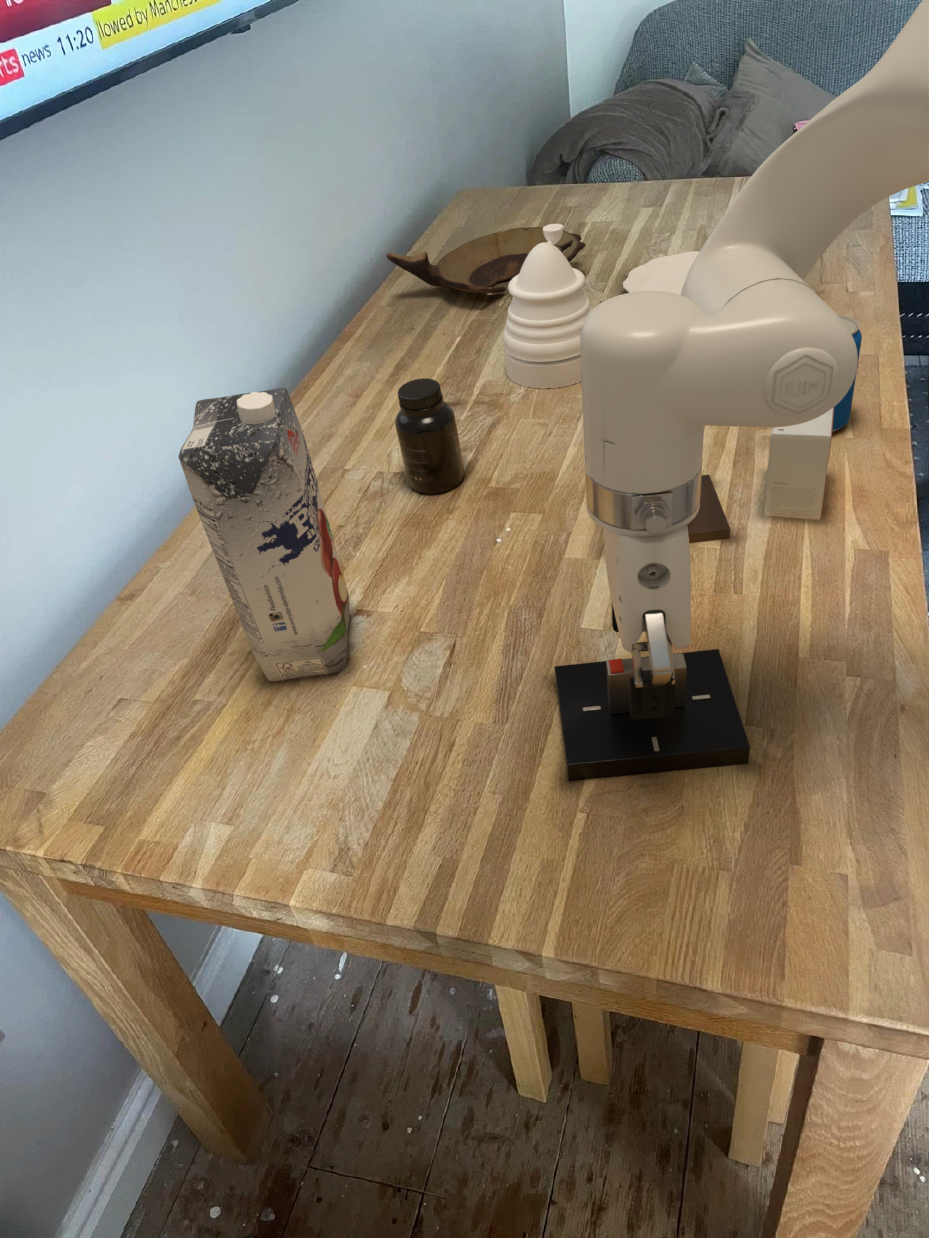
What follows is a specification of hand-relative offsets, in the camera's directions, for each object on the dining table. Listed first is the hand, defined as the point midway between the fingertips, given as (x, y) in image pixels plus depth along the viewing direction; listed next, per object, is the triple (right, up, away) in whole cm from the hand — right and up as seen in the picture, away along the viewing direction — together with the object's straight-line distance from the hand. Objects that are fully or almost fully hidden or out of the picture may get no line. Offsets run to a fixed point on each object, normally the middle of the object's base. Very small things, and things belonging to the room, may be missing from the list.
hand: (641, 669), depth 74 cm
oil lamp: (-9, +59, +80) cm, 100 cm away
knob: (+1, -3, +3) cm, 4 cm away
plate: (+21, +54, +68) cm, 89 cm away
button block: (+7, +14, +25) cm, 30 cm away
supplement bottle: (-17, +20, +38) cm, 46 cm away
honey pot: (-2, +39, +55) cm, 67 cm away
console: (+1, -5, +5) cm, 7 cm away
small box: (+21, +16, +25) cm, 36 cm away
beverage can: (+27, +27, +36) cm, 52 cm away
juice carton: (-29, +1, +17) cm, 34 cm away
